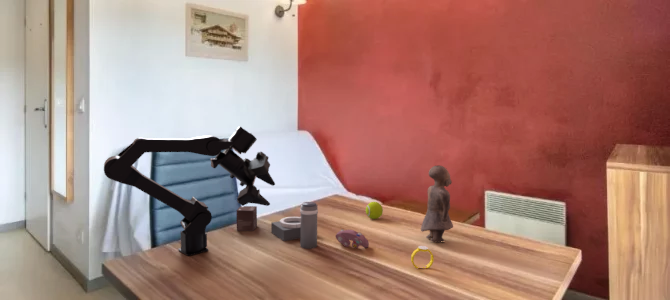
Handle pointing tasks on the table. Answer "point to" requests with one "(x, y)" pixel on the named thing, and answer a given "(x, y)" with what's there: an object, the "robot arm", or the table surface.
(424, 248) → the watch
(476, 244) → the table surface
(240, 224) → the box
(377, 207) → the tennis ball
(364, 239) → the video game controller
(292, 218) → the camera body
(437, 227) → the clay figurine
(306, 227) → the grey travel tumbler
